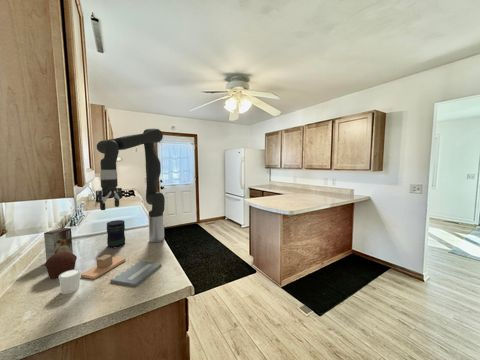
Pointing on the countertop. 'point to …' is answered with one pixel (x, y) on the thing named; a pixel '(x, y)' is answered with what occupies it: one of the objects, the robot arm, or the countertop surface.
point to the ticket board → (136, 273)
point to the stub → (103, 266)
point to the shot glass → (69, 281)
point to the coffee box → (58, 241)
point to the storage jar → (116, 234)
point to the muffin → (60, 264)
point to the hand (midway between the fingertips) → (110, 208)
